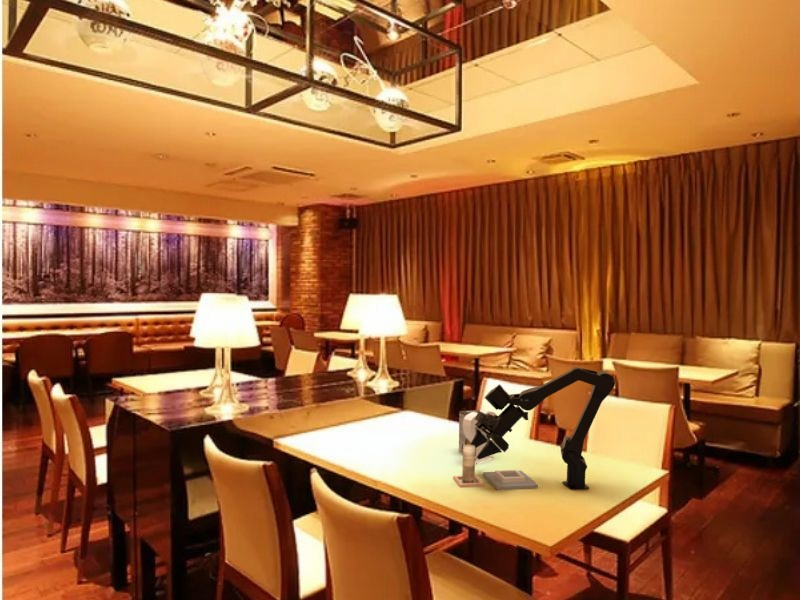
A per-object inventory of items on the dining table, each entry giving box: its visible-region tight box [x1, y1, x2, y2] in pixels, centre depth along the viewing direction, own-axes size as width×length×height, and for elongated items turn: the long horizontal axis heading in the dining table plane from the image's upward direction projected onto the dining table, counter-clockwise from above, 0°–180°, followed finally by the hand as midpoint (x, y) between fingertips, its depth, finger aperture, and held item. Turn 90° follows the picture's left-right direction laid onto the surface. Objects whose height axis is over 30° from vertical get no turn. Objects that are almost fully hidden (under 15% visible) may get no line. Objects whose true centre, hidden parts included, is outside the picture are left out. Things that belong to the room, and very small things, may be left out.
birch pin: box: [461, 444, 476, 483], centre depth 189 cm, size 4×4×12 cm
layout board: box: [482, 469, 539, 491], centre depth 191 cm, size 14×14×2 cm
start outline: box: [452, 474, 485, 488], centre depth 189 cm, size 8×8×1 cm
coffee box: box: [458, 409, 484, 456], centre depth 221 cm, size 9×6×16 cm
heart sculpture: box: [463, 409, 497, 465], centre depth 212 cm, size 16×5×18 cm, turn 134°
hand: (473, 453), depth 189 cm, fingers open, 9 cm apart
